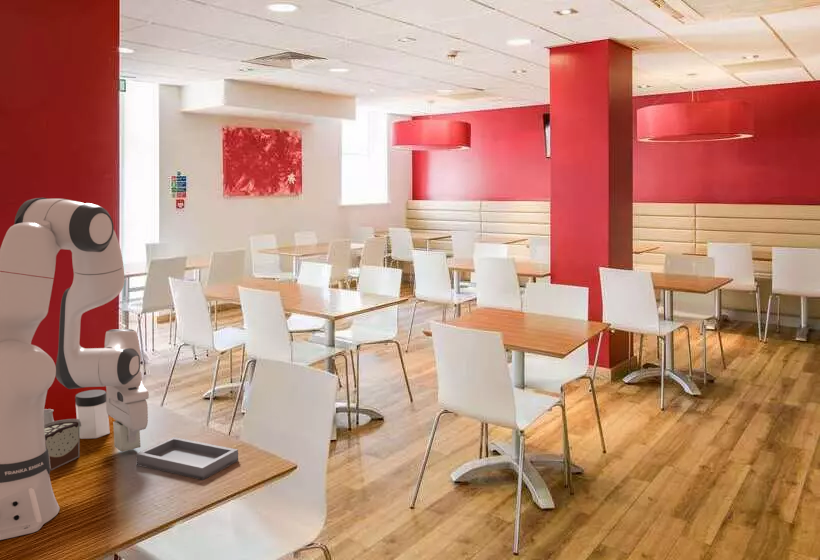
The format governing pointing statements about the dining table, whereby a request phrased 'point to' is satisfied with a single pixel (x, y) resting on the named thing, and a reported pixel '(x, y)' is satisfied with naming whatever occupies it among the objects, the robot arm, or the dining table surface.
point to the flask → (48, 416)
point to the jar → (92, 414)
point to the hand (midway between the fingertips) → (127, 438)
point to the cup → (124, 438)
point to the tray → (187, 458)
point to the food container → (62, 441)
